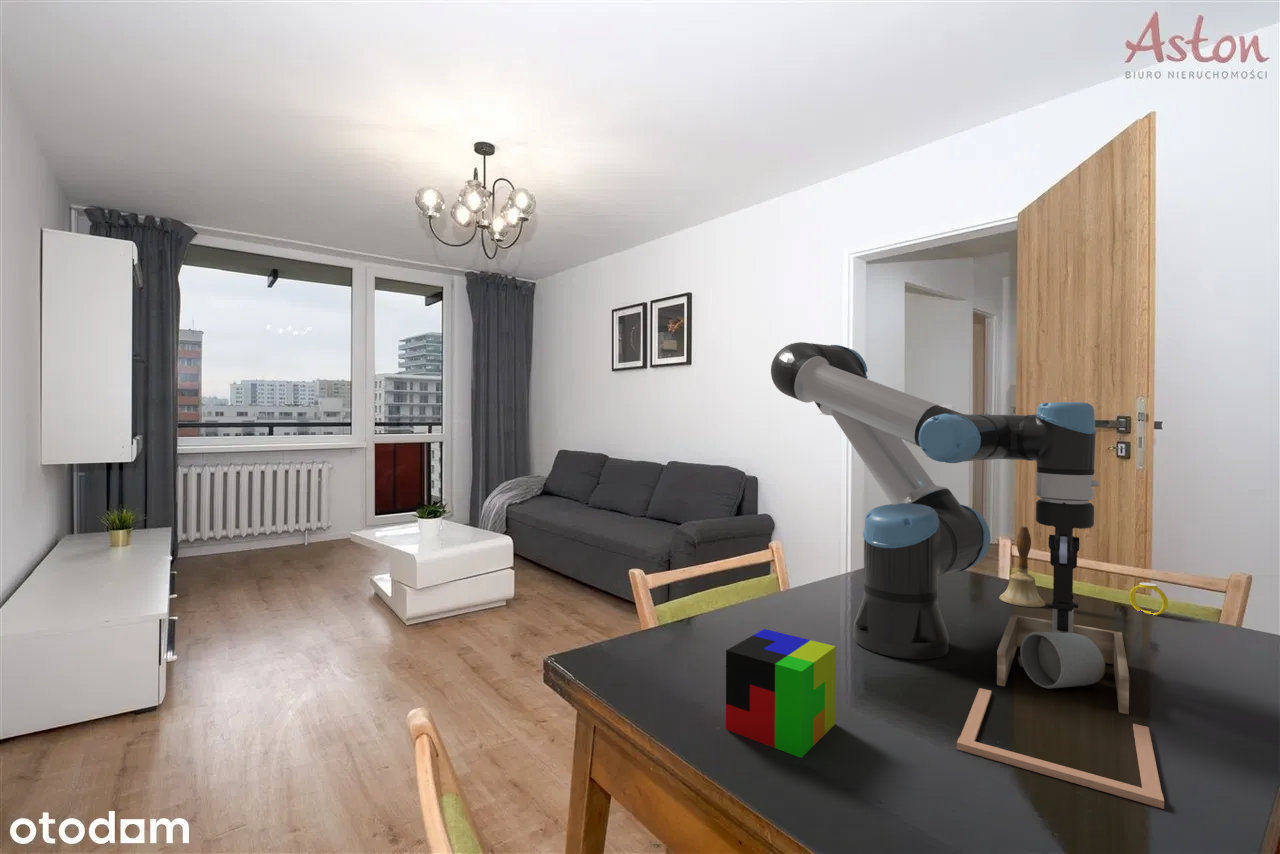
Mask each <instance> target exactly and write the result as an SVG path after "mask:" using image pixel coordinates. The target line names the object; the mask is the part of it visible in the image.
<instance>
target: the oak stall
mask: <svg viewBox="0 0 1280 854" xmlns="http://www.w3.org/2000/svg"><path fill="white" fill-rule="evenodd" d="M1033 632H1052V620H1050V619H1049V620H1047V619H1043V618H1037V617H1036V618H1035V617H1030V616H1023V615H1019V614H1018V615H1017V614H1010V616H1009V619H1008V622H1007V624H1006V627H1005V629H1004V633H1003V634H1002V637H1001V640H1000V643H999V645H998V648H997V651H996V654H997V655H996V656H997V657H996V664H997V665H996V685H997V686H999V687H1006V684H1007V681H1008V677H1009V675H1010V674H1009V673H1010V671H1011V668H1012V664H1013V661H1014V658H1015V654H1016V651H1017V647H1019V648H1021V644H1022V641H1023V639H1024V638H1025V637H1026V636H1027V635H1028V634H1030V633H1033ZM1073 633H1075V634H1080V635H1083V636H1086V637H1088V638H1090V639H1091V640H1092V641H1094V642H1095V643H1096V644H1097V645H1098V647H1099V648H1100V650H1101V651H1102V654H1103V656H1104V659H1105V664H1110V665H1113V670H1114V671H1113V672H1114V678H1115V680H1114V682H1115V689H1116V699H1117V707H1118V713H1120V714H1125V715H1130V714H1129V712H1130V711H1129V710H1130V708H1129V707H1130V673H1129V668H1128V667H1129V666H1128V662H1127V661H1128V660H1127V656H1126V650H1125V644H1124V639H1123V632H1121V631H1116V630H1109V629H1105V628H1104V629H1102V628H1097V627H1092V626H1084V625H1080V624H1079V625H1078V624H1074V623H1073Z"/></svg>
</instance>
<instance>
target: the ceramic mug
mask: <svg viewBox="0 0 1280 854" xmlns="http://www.w3.org/2000/svg"><path fill="white" fill-rule="evenodd" d="M1019 648H1020V650H1019V654H1020V655H1019V656H1017V660H1018V665H1019V667H1020V668H1023V670H1024V671H1025V673H1026V675H1027V676H1028V678H1029V679H1030V680H1031V681H1032V682H1033V683H1034V684H1036V685H1037V686H1039V687H1042V688H1044V689H1060V688H1069V687H1071V688H1072V687H1085V686H1089V685H1094V684H1096V683H1099V681H1101V679H1102V678H1103V677H1104V676H1105V673H1106V663H1105V659H1104V656H1103V654H1102V651H1101V650H1100V648H1099V647H1098V645H1097V644H1096V643H1095V642H1094V641H1092V640H1091V639H1090V638H1088V637H1086V636H1083V635H1080V634H1075V633H1054V632H1033V633H1030V634H1028V635H1027V636H1026V637H1025V638H1024V639H1023V641H1022V644H1021V647H1019Z"/></svg>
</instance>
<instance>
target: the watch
mask: <svg viewBox="0 0 1280 854" xmlns="http://www.w3.org/2000/svg"><path fill="white" fill-rule="evenodd" d="M1140 588H1141V589H1142V588H1143V589H1147V590H1153V591H1154V592H1156V593H1157V594H1158V596H1159V597H1160V599H1161V602H1162V603H1161V604H1162V607H1161V608H1160V610H1159V611H1158V612H1154V613H1151V612H1152V611H1151V610H1146V609H1143V608H1141V607H1140V606H1139V604H1138V603H1137V600H1136V592H1137V591H1138V590H1139V589H1140ZM1128 598H1129V601H1130V604H1131V606H1132V607H1133V608H1134V609H1135V610H1136V611H1137V612H1138V611H1140V610H1141V611H1143V612H1144V613H1143V614H1147V615H1150V614H1153V615H1152V616H1154V615H1156V616H1159V615H1161V614H1164V613H1165V612H1166V610H1167V609H1168V606H1169V599H1168V597H1167V596H1166V594H1165V592H1164V591H1163V590H1162V589H1161V588H1159V587H1158V584H1156V583H1151V582H1139V584H1138V585H1136V586H1134V587H1133V588H1131V590H1130V591H1129V596H1128Z"/></svg>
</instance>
